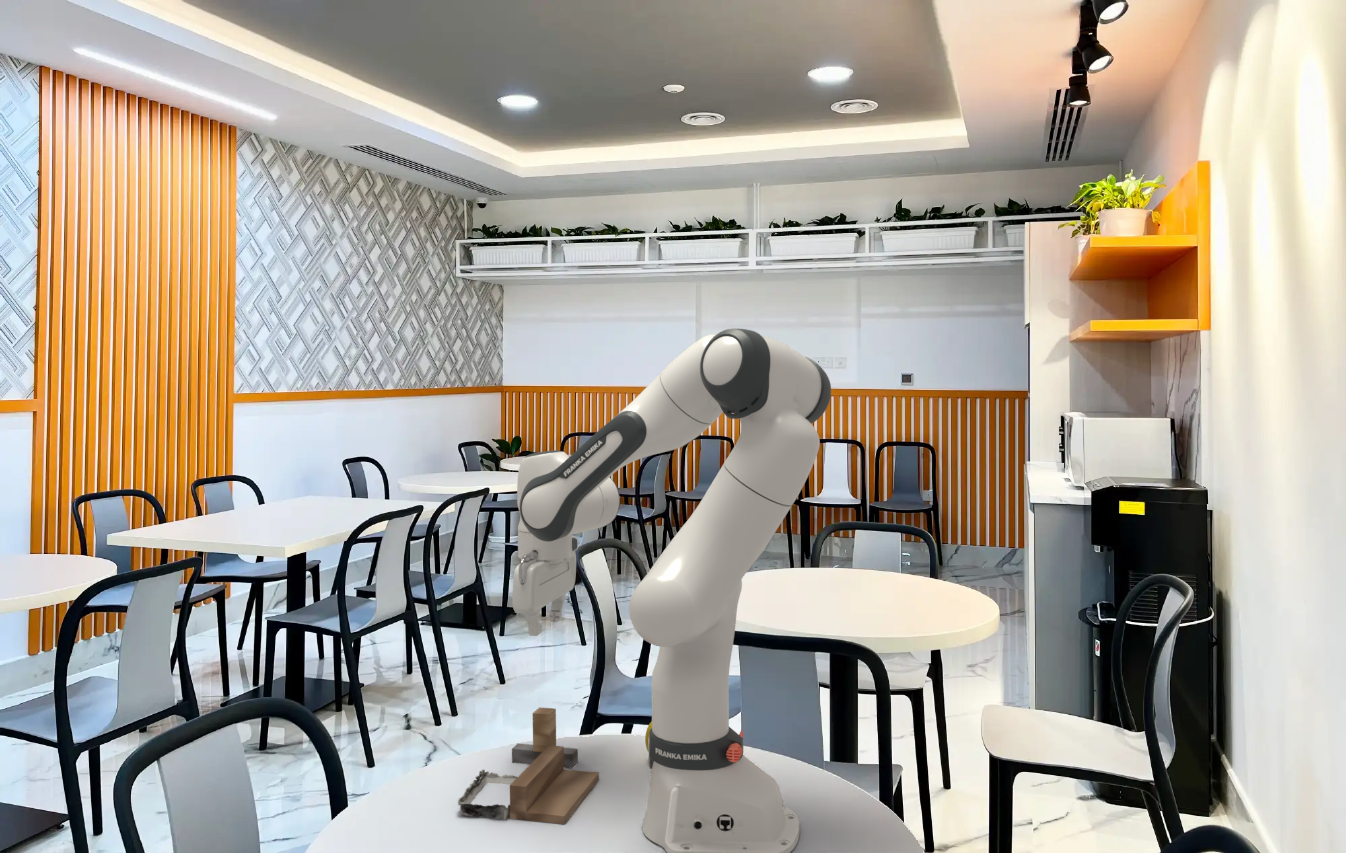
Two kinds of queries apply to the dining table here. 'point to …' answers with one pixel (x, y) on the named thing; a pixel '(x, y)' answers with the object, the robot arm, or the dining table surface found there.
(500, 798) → the dining table surface
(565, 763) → the oak pusher
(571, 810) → the stop bar
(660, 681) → the robot arm
